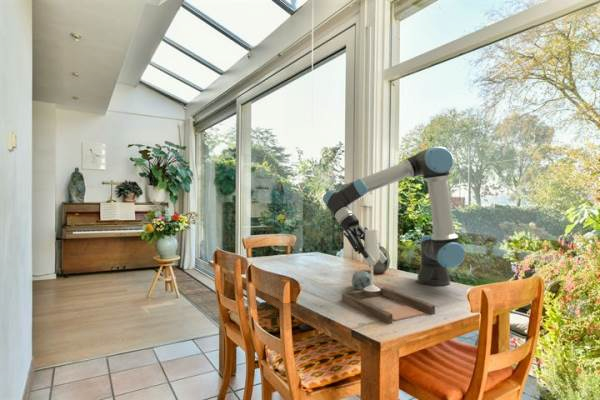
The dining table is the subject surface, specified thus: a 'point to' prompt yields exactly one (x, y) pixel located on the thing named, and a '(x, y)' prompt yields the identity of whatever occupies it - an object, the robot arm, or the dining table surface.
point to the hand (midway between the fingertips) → (379, 262)
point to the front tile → (403, 312)
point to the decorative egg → (380, 266)
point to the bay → (376, 312)
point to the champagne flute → (372, 254)
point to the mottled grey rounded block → (361, 280)
